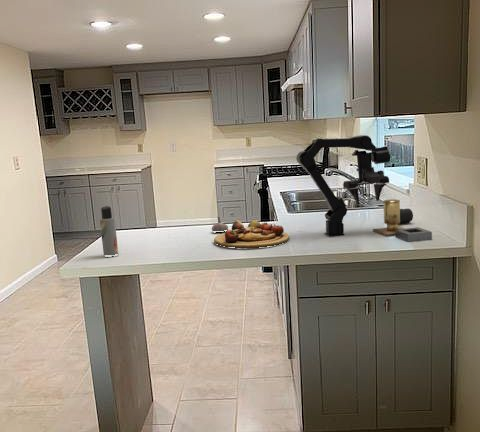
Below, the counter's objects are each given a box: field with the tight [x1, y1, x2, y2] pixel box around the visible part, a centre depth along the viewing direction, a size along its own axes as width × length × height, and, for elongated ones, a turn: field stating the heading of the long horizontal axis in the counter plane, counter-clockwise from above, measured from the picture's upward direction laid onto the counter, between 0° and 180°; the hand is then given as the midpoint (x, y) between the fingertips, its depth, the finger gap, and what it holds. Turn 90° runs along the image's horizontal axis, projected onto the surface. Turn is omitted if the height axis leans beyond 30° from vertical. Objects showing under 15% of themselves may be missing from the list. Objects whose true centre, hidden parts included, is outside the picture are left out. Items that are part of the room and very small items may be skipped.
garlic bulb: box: [211, 215, 229, 232], centre depth 229 cm, size 8×7×8 cm
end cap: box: [398, 208, 414, 225], centre depth 222 cm, size 10×7×7 cm
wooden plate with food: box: [213, 219, 290, 248], centre depth 208 cm, size 32×32×8 cm
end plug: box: [382, 198, 401, 231], centre depth 205 cm, size 7×7×12 cm
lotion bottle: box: [99, 205, 119, 256], centre depth 196 cm, size 6×6×20 cm
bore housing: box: [394, 226, 433, 243], centre depth 194 cm, size 10×10×3 cm
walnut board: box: [372, 225, 406, 238], centre depth 206 cm, size 12×12×1 cm
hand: (367, 202), depth 207 cm, fingers open, 9 cm apart
